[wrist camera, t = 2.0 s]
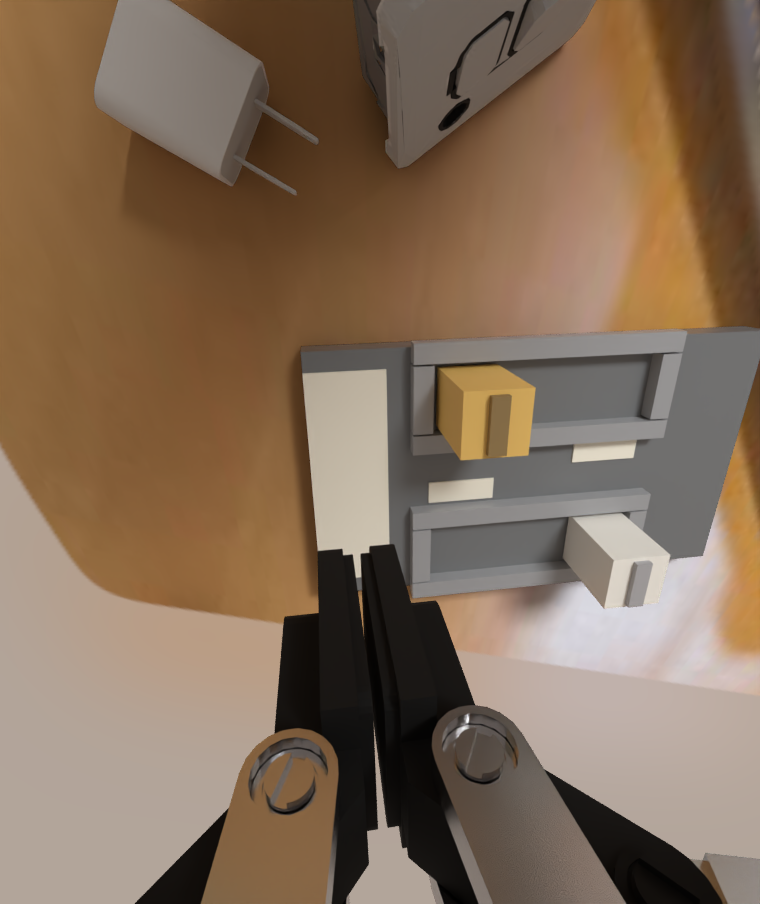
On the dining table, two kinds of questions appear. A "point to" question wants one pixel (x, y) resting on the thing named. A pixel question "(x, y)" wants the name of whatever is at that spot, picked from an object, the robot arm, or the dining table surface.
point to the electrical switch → (452, 59)
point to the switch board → (550, 451)
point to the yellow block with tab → (484, 411)
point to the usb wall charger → (185, 88)
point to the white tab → (615, 559)
